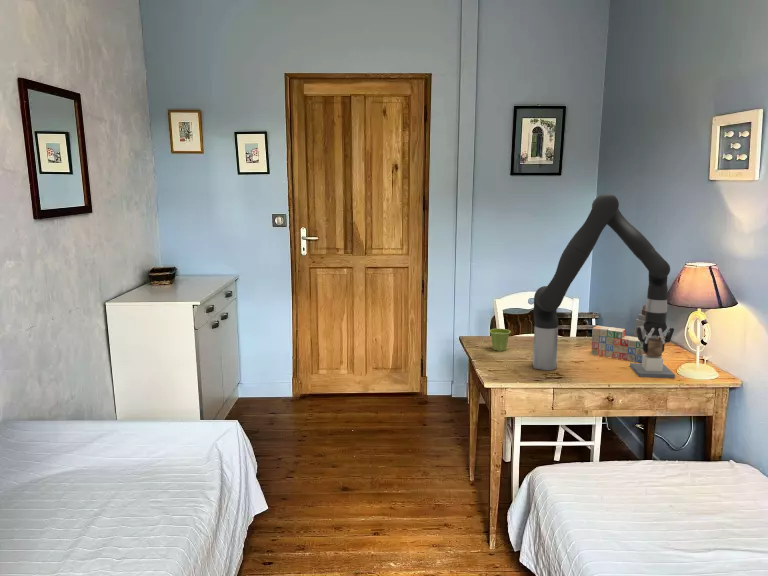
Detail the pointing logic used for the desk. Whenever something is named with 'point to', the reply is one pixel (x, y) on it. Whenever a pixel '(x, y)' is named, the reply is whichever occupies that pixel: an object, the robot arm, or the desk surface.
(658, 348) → the walnut block
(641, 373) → the base plate
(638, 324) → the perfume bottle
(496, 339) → the plant pot
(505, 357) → the desk surface
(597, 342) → the stack of blocks
